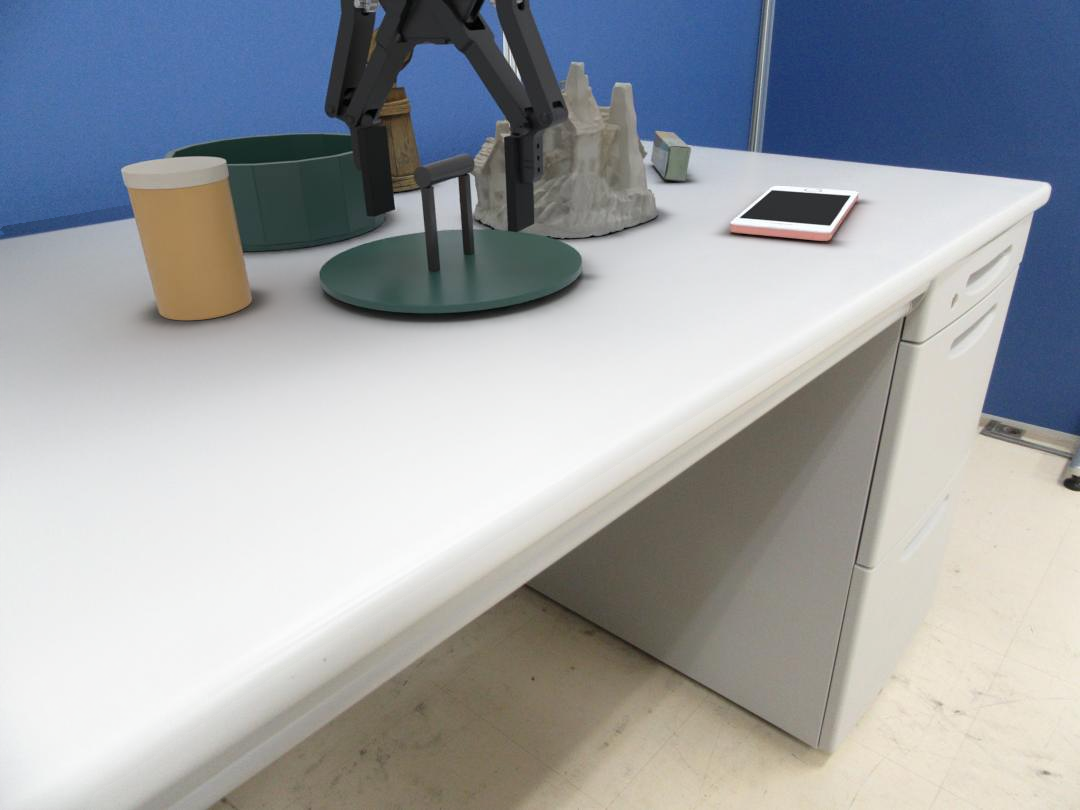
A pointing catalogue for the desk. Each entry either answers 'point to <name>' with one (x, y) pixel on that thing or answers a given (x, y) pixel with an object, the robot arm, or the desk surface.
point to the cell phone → (796, 213)
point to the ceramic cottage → (576, 169)
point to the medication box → (670, 156)
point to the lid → (450, 260)
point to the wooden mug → (399, 133)
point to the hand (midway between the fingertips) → (448, 220)
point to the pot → (291, 188)
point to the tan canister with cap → (189, 236)
